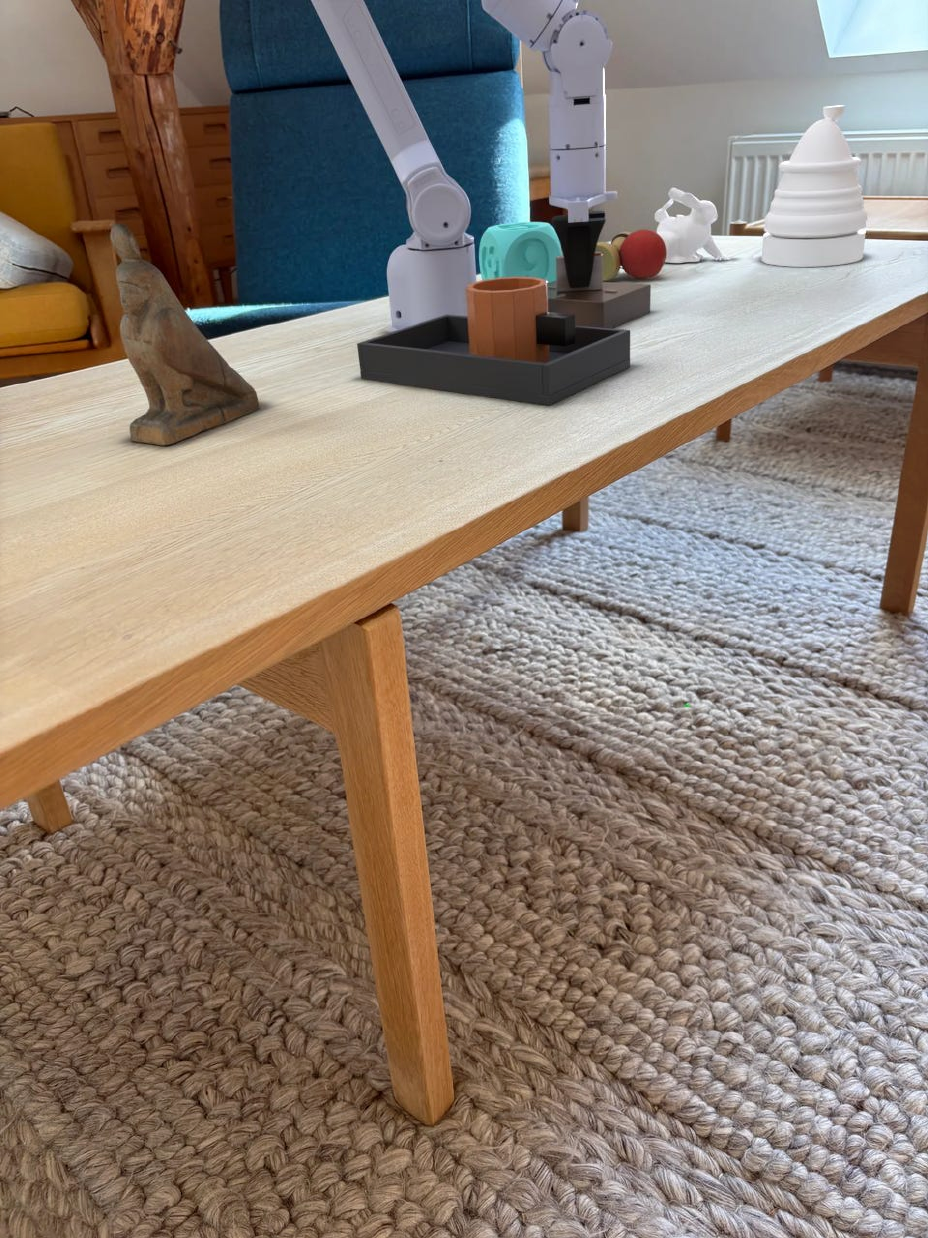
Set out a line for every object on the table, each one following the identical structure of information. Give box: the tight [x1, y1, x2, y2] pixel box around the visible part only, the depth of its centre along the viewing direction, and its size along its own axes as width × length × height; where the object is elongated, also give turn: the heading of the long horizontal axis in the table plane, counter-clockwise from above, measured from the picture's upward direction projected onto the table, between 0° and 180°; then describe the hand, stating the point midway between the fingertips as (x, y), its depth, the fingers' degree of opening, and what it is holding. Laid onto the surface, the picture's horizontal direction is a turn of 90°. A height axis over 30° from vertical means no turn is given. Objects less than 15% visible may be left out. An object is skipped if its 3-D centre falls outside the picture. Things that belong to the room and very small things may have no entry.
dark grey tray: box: [356, 315, 631, 406], centre depth 89 cm, size 21×13×3 cm, turn 52°
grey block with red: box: [556, 252, 604, 292], centre depth 106 cm, size 5×1×4 cm, turn 84°
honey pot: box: [761, 105, 868, 268], centre depth 127 cm, size 13×13×18 cm
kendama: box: [562, 228, 667, 282], centre depth 129 cm, size 8×6×18 cm
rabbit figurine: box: [654, 187, 733, 264], centre depth 134 cm, size 12×8×10 cm, turn 50°
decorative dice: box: [478, 221, 562, 283], centre depth 122 cm, size 8×8×8 cm
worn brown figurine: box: [109, 222, 260, 446], centre depth 78 cm, size 12×6×18 cm, turn 145°
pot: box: [466, 277, 575, 363], centre depth 86 cm, size 10×7×7 cm
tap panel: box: [547, 280, 652, 329], centre depth 108 cm, size 12×10×3 cm
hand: (579, 285), depth 107 cm, fingers closed on grey block with red
